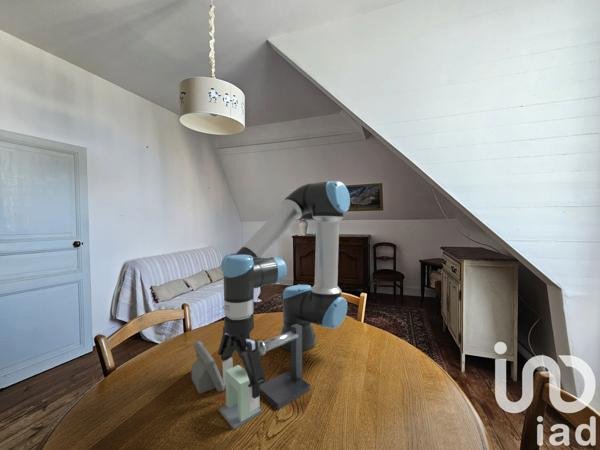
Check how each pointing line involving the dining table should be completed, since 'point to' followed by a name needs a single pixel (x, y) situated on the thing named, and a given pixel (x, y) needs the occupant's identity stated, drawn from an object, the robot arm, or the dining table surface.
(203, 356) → the digital clock
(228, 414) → the coaster
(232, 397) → the bracket
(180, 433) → the dining table surface
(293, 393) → the stand
